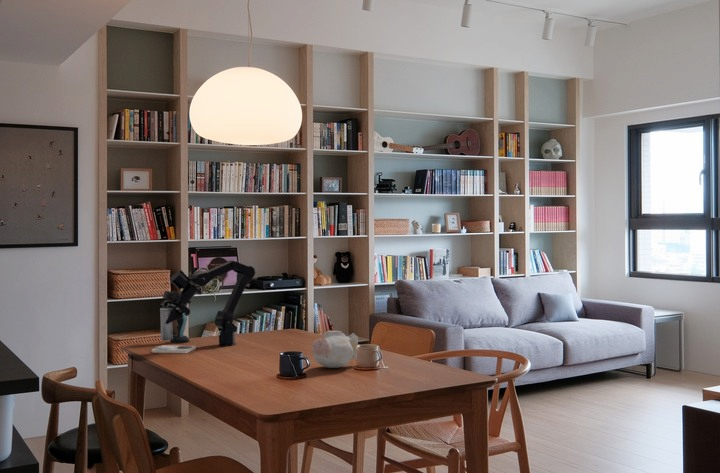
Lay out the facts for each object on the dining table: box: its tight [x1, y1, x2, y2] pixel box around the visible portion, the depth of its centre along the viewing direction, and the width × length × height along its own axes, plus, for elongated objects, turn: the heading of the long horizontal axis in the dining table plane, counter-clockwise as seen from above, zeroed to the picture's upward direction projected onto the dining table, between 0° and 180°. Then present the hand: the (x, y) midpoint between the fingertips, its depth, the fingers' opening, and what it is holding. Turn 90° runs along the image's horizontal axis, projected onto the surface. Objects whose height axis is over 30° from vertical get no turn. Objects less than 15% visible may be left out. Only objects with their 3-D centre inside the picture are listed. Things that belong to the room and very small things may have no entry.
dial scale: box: [151, 344, 197, 354], centre depth 350 cm, size 16×12×2 cm
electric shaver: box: [169, 304, 190, 344], centre depth 374 cm, size 9×12×20 cm
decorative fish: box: [311, 330, 359, 369], centre depth 304 cm, size 16×19×15 cm
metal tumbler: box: [159, 307, 174, 341], centre depth 345 cm, size 5×5×14 cm
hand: (163, 322), depth 344 cm, fingers closed on metal tumbler, 5 cm apart
